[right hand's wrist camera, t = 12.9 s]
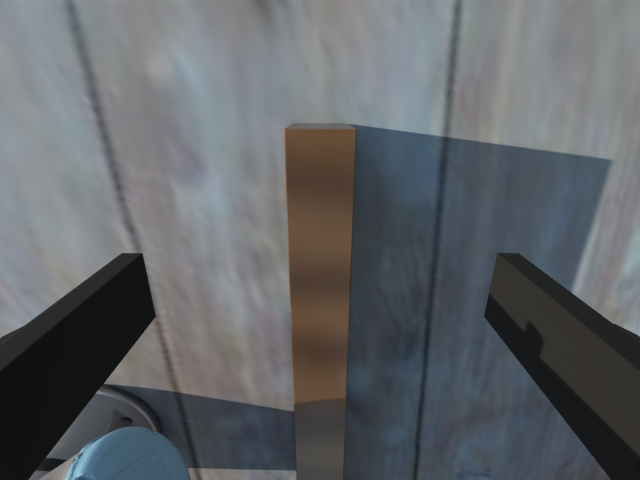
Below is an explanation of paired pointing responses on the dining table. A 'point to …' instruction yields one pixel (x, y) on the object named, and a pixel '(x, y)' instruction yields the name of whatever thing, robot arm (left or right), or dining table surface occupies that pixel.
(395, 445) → the dining table surface
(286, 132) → the beam
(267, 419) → the dining table surface
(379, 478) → the dining table surface
